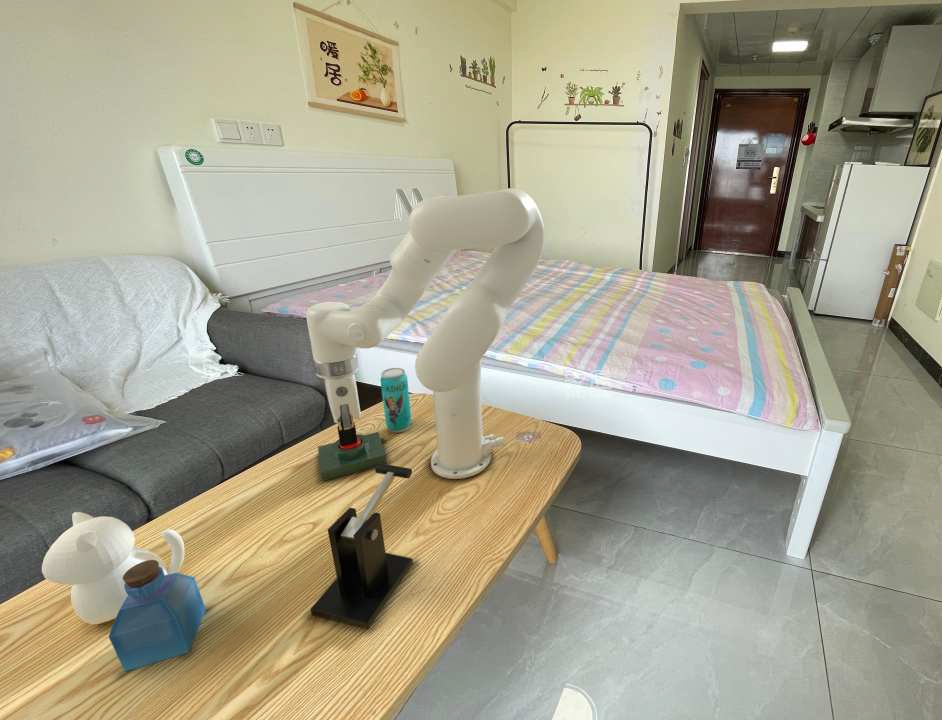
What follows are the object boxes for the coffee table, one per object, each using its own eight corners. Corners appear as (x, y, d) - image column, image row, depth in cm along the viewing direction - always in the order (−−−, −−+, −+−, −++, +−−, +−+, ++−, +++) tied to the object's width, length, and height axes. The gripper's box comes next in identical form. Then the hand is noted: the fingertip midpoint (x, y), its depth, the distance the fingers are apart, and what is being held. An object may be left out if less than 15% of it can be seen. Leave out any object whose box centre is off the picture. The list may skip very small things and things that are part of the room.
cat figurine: (68, 608, 61) (26, 523, 55) (186, 553, 70) (159, 476, 65) (72, 652, 55) (27, 563, 50) (199, 586, 64) (172, 505, 59)
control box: (379, 439, 101) (377, 424, 100) (386, 463, 93) (384, 447, 92) (319, 455, 95) (316, 439, 93) (322, 481, 87) (319, 465, 86)
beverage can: (384, 435, 103) (377, 378, 98) (389, 422, 108) (382, 367, 103) (410, 433, 104) (404, 376, 99) (413, 420, 109) (408, 366, 104)
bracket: (363, 553, 71) (353, 489, 67) (413, 563, 70) (405, 500, 66) (311, 615, 61) (295, 545, 57) (368, 629, 60) (356, 559, 55)
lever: (383, 468, 71) (378, 459, 70) (413, 473, 70) (409, 465, 69) (336, 541, 62) (329, 533, 61) (370, 548, 61) (364, 540, 60)
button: (360, 441, 96) (359, 435, 95) (362, 451, 93) (361, 444, 92) (339, 447, 94) (338, 440, 93) (341, 457, 90) (340, 450, 90)
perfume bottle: (124, 671, 53) (92, 600, 49) (148, 625, 59) (120, 558, 55) (188, 652, 56) (162, 583, 52) (205, 609, 61) (183, 544, 57)
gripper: (362, 375, 83) (373, 456, 89) (353, 348, 94) (363, 421, 100) (317, 383, 79) (331, 467, 85) (313, 354, 90) (325, 429, 96)
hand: (348, 442), depth 93 cm, fingers closed
